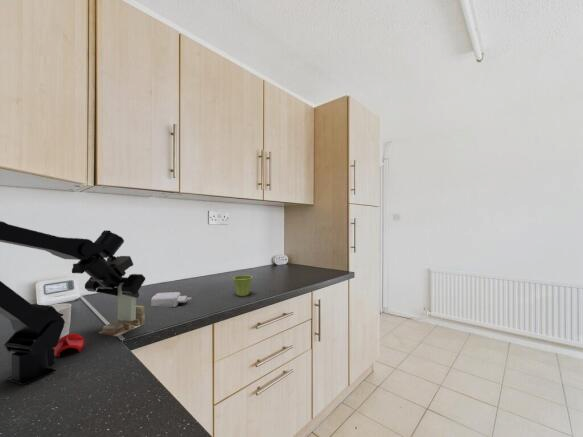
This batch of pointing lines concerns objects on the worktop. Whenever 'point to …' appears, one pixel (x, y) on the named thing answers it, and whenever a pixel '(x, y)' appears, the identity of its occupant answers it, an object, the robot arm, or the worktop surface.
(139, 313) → the offcut rack
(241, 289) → the plant pot
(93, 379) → the worktop surface
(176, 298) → the white dispenser bottle
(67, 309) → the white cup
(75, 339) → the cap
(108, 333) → the offcut bottom
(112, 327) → the offcut top
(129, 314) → the grey-green flat block
